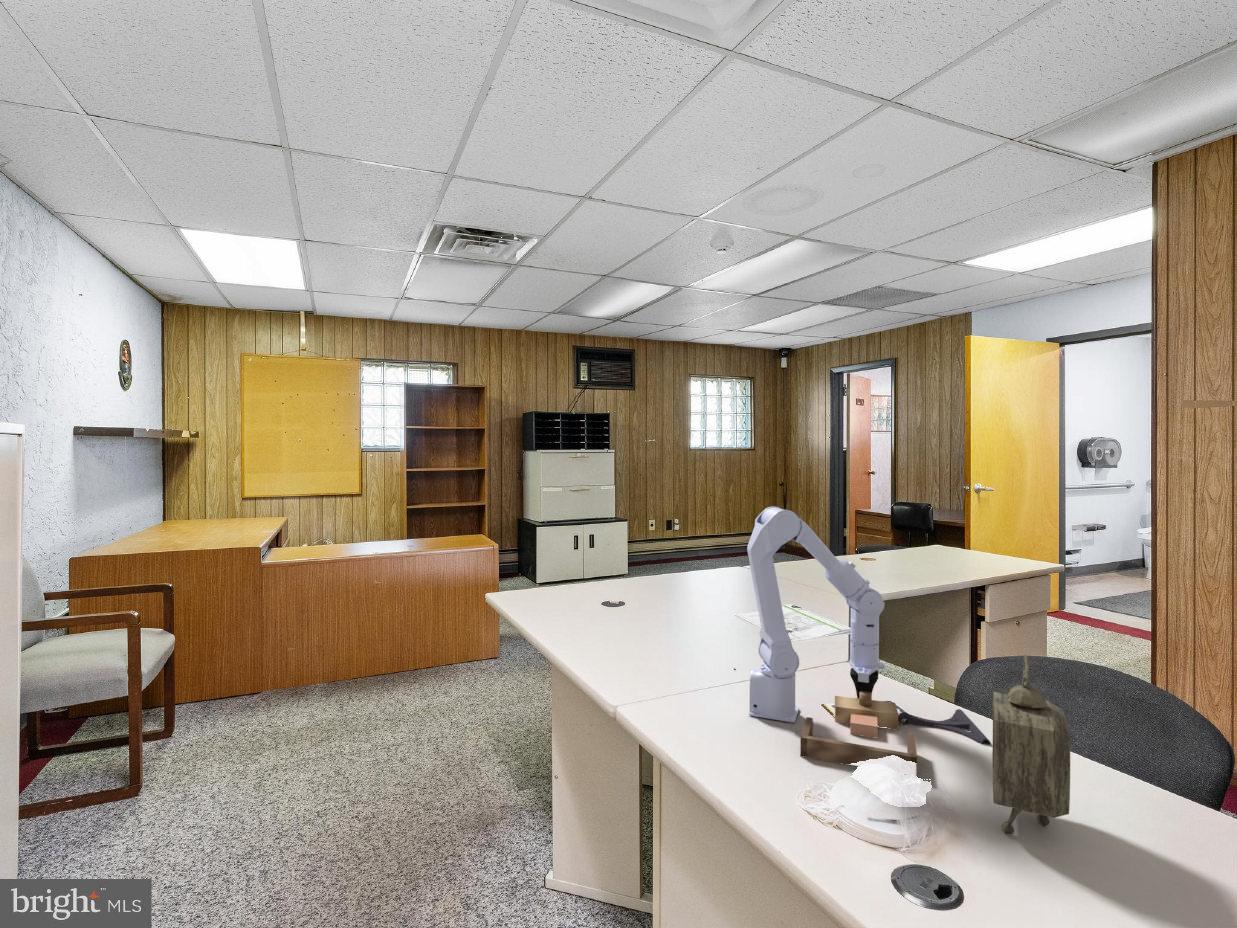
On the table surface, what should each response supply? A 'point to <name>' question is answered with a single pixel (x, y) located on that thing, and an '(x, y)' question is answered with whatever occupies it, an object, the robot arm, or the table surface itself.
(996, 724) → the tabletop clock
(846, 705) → the wooden box with knob
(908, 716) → the bracket
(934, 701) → the table surface
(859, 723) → the tile
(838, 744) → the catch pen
